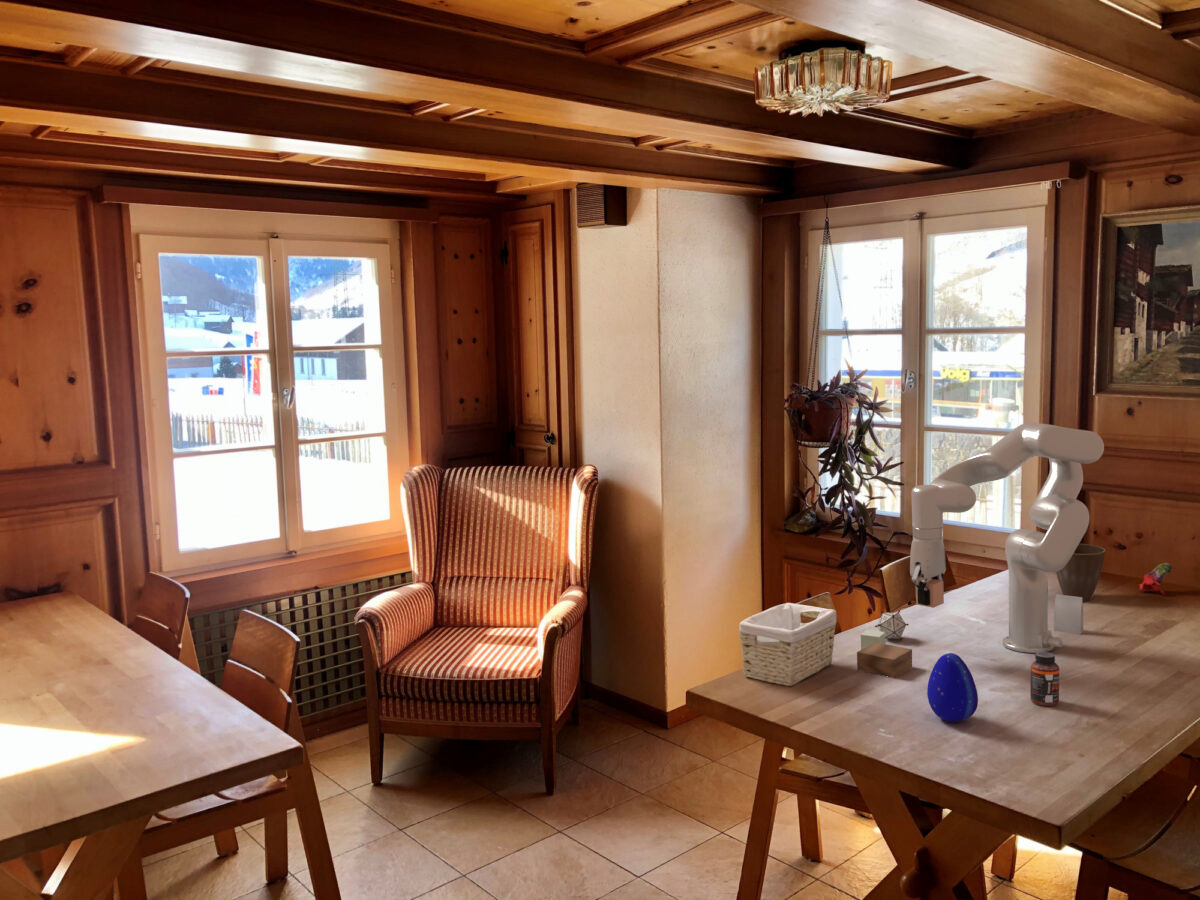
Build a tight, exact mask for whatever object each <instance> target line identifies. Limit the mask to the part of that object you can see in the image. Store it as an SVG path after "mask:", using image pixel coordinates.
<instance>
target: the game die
mask: <svg viewBox="0 0 1200 900" xmlns="http://www.w3.org/2000/svg"><path fill="white" fill-rule="evenodd" d="M880 613H881V615H880V617H879V621H878V624H877V625H874V628H878V631H881V632H885V640H886V639H900V641H903V638H902V636H903V633H904V632H905V629H906V626H910V624H909V623H906V622H905V620H904V619H903V617H902V616H901V609H899V610H898V611H897V612H883V610H880Z"/></svg>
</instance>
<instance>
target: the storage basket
mask: <svg viewBox="0 0 1200 900" xmlns="http://www.w3.org/2000/svg"><path fill="white" fill-rule="evenodd" d="M801 616H803V617H808V618H812V619H814V620H812V621H810V622H805V623H803V622H802V618H801ZM836 625H837V611H836V610H835V609H831V608H830V609H829V608H823V607H820V606H819V607H818V606H812V605H804V604H799V603H793V602H786V603H782V604H778V605H775V606H772V607H770V608H768V609H766V610H763V611H761V612H758V613H756V614H753V615H750V616H748V617H747V618H745V619H743V620H742V621H740V623H739V628H738V629H739V639H740V645H741V655H742V656H741V657H742V666H743V667H742V669H743V672H742V673H743V674H744V676H745V677H747V678H751V679H754V680H759V681H763V682H768V683H771V684H772V683H773V684H777V685H781V686H782V685H784V686H787V687H791V686H794V685H796V684H798V683H800V682H801V681H803V680H805V679H807V678H809V677H810V676H812V675H815V674H817V673H819V672H820V671H822V670H823V669H824V668H827V667H828V666H830V665H832V663H833V652H834V646H835V645H834V641H835V632H836ZM814 673H815V674H814Z"/></svg>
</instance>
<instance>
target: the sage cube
mask: <svg viewBox="0 0 1200 900" xmlns="http://www.w3.org/2000/svg"><path fill="white" fill-rule="evenodd" d="M875 642H877V643H882V644H886V639H885V632H881V631H880V630H871V629H866V630H865V631H863V632H862V633H861V634H860V650H862V649H864V648H866V647H868V646H870V645H872V644H874V643H875Z"/></svg>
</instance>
